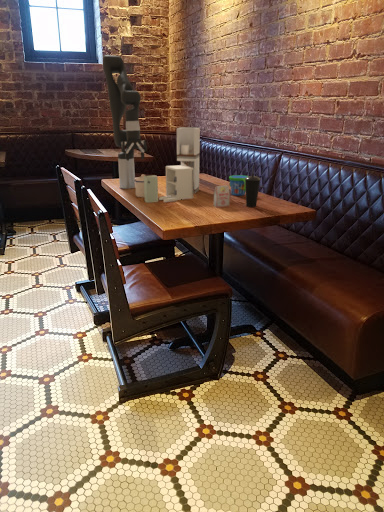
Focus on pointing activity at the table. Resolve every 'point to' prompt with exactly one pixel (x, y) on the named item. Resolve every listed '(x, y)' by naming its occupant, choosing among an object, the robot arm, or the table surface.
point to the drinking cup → (252, 189)
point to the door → (151, 188)
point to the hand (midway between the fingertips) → (135, 160)
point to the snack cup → (237, 185)
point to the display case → (189, 151)
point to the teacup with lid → (140, 186)
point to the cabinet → (178, 183)
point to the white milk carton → (221, 196)
